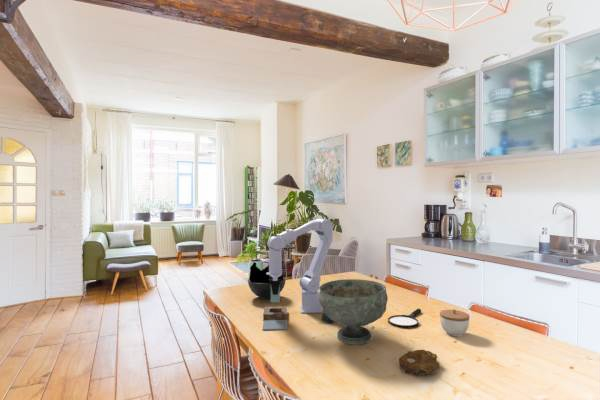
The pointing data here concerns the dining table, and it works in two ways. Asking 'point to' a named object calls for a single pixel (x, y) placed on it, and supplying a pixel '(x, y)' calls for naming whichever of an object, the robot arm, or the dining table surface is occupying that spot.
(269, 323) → the rubber mat
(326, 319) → the watch
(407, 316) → the magnifying glass
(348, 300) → the decorative bowl
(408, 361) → the decorative rock
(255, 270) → the coal bowl
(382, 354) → the dining table surface
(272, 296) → the teal block
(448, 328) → the lidded jar
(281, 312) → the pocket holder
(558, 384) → the dining table surface
